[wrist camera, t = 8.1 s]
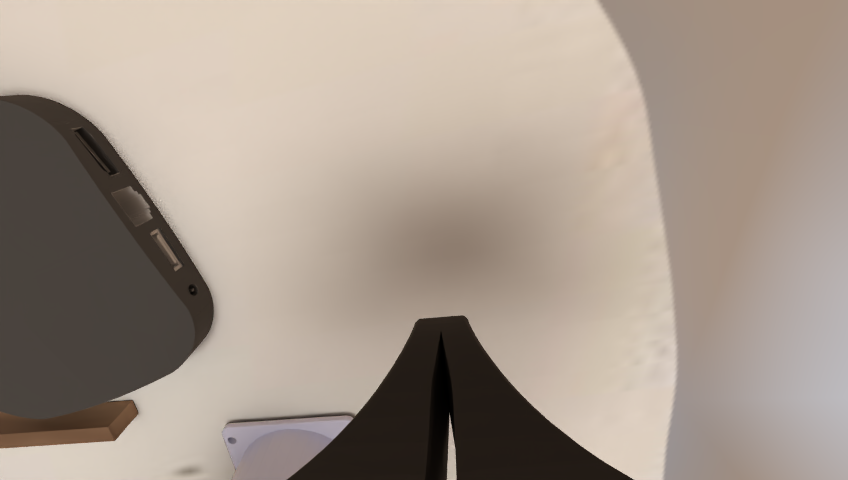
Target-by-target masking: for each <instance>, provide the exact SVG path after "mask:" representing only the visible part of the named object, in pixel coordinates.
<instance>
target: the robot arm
mask: <svg viewBox="0 0 848 480" xmlns="http://www.w3.org/2000/svg"><path fill="white" fill-rule="evenodd" d="M449 412H450V418H451V424H452V430H453V437H454V443H455V449H456V471H457V480H633V479H632V478H630V477H628V476H627V475H625V474H623V473H622V472H620V471H618V470H617V469H615V468H613V467H612V466H610V465H608V464H607V463H605V462H603V461H602V460H600V459H599V458H597V457H596V456H594V455H593V454H592V453H590V452H589V451H587V450H586V449H584V448H583V447H581V446H580V445H579V444H577V443H576V442H575V441H574V440H572V439H571V438H570V437H569V436H567V435H566V434H565V433H563V432H562V431H561V430H560V429H558V428H557V427H556V426H555V425H553V424H552V423H551V422H550V421H549V420H547V419H546V418H545V417H544V416H543V415H542V414H541V413H540V412H539V411H537V410H536V409H535V408H534V407H533V406H532V405H531V404H530V403H529V402H528V401H527V400H526V399H525V398H524V397H523V396H522V395H521V394H520V393H519V392H518V391H517V390H516V389H515V388H514V386H513V385H512V384H511V383H510V382H509V381H508V380H507V378H506V377H505V376H504V375H503V374H502V372H501V371H500V370H499V369H498V367H497V366H496V365H495V364H494V362H493V361H492V360H491V358H490V357H489V355H488V354H487V353H486V351H485V350H484V348H483V347H482V345H481V344H480V342H479V341H478V339H477V337H476V336H475V334H474V332H473V330H472V328H471V326H470V324H469V321H468V319H467V318H466V317H465V316H451V317H438V318H426V319H419V320H418V321H417V322H416V323H415V325H414V328H413V330H412V332H411V334H410V337H409V339H408V341H407V342H406V344H405V346H404V348H403V350H402V352H401V353H400V355H399V357H398V358H397V360H396V362H395V363H394V365H393V367H392V368H391V370H390V371H389V373H388V374H387V376H386V377H385V379H384V380H383V382H382V383H381V384H380V386H379V387H378V389H377V390H376V392H375V393H374V394H373V395H372V397H371V398H370V399H369V401H368V402H367V403H366V404H365V406H364V407H363V408H362V409H361V410H360V411H359V413H358V414H357V415H356V416H355V417H354V418H353V417H351V416H347V415H345V416H330V417H315V418H301V419H286V420H271V421H256V422H241V423H229V424H226V425H225V426H224V428H223V430H222V436H223V438H224V441H225V443H226V446H227V449H228V451H229V454H230V457H231V459H232V462H233V465H234V467H235V470H236V471H235V473H234V475H233V477H232V479H231V480H447V460H448V437H449Z"/></svg>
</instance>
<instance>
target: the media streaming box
mask: <svg viewBox="0 0 848 480" xmlns="http://www.w3.org/2000/svg"><path fill="white" fill-rule="evenodd" d="M162 231H163V232H162ZM164 234H165V235H164ZM166 237H167V238H166ZM168 240H169V241H168ZM170 243H171V244H170ZM172 246H173V247H172ZM174 249H175V250H174ZM176 252H177V253H176ZM178 255H179V256H178ZM212 320H213V303H212V298H211V295H210V292H209V289H208V287H207V285H206V284H205V282H204V281H203V279H202V277H201V276H200V274H199V272H198V271H197V269H196V268H195V266H194V264H193V263H192V261H191V260H190V258H189V256H188V255H187V253H186V252H185V250H184V249H183V247H182V246H181V244H180V242H179V241H178V239H177V238H176V236H175V235H174V233H173V232H172V230H171V229H170V227H169V226H168V224H167V223H166V221H165V220H164V218H163V217H162V216H161V214H160V213H159V211H158V210H157V208H156V207H155V205H154V204H153V202H152V201H151V200H150V198H149V197H148V195H147V194H146V193H145V191H144V190H143V188H142V187H141V186H140V184H139V183H138V181H137V180H136V179H135V177H134V176H133V174H132V173H131V172H130V170H129V169H128V168H127V166H126V165H125V164H124V162H123V161H122V160H121V158H120V157H119V156H118V154H117V153H116V152H115V150H114V149H113V148H112V146H111V145H110V144H109V142H108V141H107V140H106V138H105V137H104V136H103V134H102V133H101V132H100V131H99V130H98V129H97V128H96V127H95V126H94V125H92V124H91V123H90V122H89V121H88V120H86V119H85V118H84V117H82V116H81V115H79V114H78V113H76V112H75V111H73V110H71V109H69V108H68V107H66V106H64V105H61V104H59V103H57V102H54V101H51V100H48V99H45V98H41V97H36V96H29V95H13V96H0V412H3V413H6V414H10V415H14V416H18V417H24V418H30V419H47V418H53V417H57V416H62V415H66V414H70V413H73V412H77V411H80V410H84V409H87V408H90V407H93V406H96V405H99V404H102V403H105V402H107V401H110V400H113V399H115V398H118V397H120V396H123V395H125V394H128V393H130V392H132V391H135V390H137V389H139V388H141V387H144V386H146V385H148V384H150V383H152V382H154V381H156V380H158V379H160V378H162V377H164V376H166V375H168V374H170V373H172V372H174V371H175V370H176V369H178V368H179V367H180V366H181V365H182V364H183V363H184V362H185V361H186V359H187V358H188V357H189V356H190V355H191V353H192V352H193V351H194V350H195V349H196V348H197V346H198V345H199V344H200V343H201V342H202V341H203V339H204V338H205V337H206V335H207V334H208V332H209V330H210V327H211V324H212Z"/></svg>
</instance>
